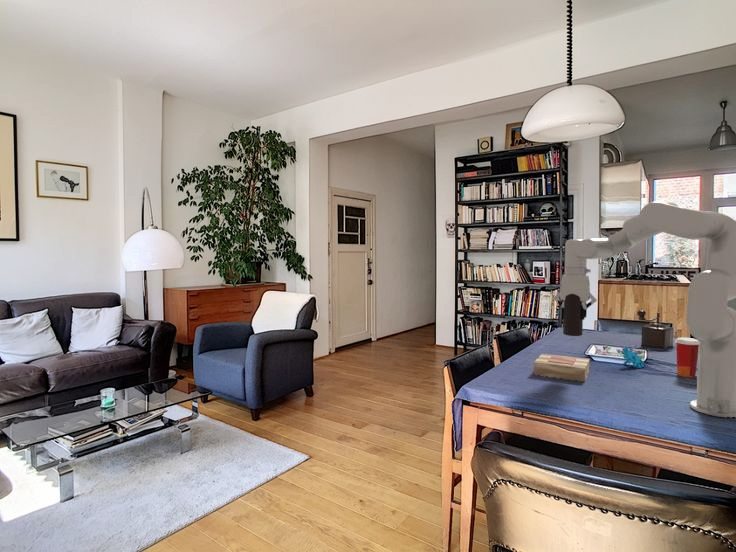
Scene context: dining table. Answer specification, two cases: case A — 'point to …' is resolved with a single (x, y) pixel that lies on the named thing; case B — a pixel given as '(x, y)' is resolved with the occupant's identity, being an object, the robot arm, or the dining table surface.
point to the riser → (562, 367)
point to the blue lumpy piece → (632, 357)
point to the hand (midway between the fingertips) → (574, 318)
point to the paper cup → (687, 356)
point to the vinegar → (572, 316)
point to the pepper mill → (655, 333)
